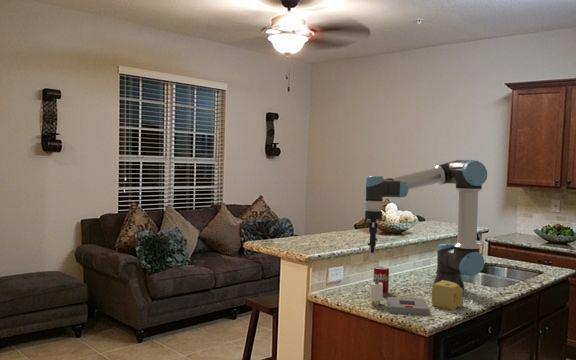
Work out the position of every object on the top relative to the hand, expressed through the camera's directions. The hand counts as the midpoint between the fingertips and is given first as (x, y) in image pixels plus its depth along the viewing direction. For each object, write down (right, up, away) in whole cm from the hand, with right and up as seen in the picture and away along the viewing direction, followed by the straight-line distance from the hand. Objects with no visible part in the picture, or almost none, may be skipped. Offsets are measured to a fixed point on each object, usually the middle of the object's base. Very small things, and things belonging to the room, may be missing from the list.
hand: (372, 257), depth 229 cm
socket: (+14, -21, -9) cm, 26 cm away
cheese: (+33, -21, -3) cm, 39 cm away
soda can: (+7, -20, +18) cm, 28 cm away
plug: (+1, -20, -3) cm, 21 cm away
